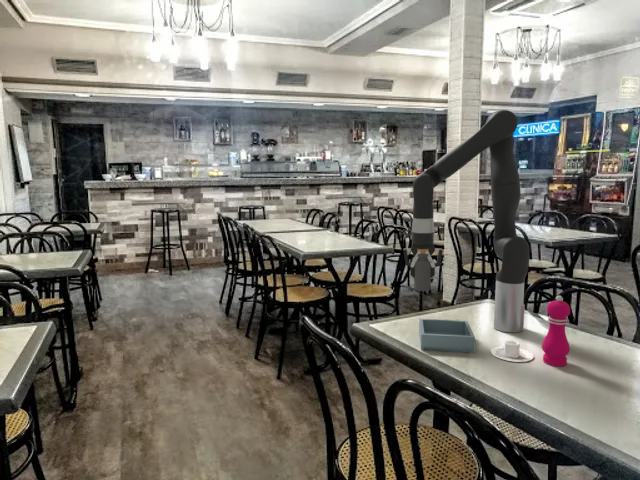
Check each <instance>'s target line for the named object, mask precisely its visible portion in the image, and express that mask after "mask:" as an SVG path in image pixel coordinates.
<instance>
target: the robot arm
mask: <svg viewBox="0 0 640 480" xmlns="http://www.w3.org/2000/svg"><path fill="white" fill-rule="evenodd" d="M518 124H519V123H518V118H517V115H516V114H515V113H514V112H512V111H511V110H507V109H500V110H497V111H495V112H493V113H492V114H491V115H489V116H488V117H487V119H486V121H485V124H484V125H482V127H481V128H480V129H479V130H478V131H476V132H475V133H474V134H473V135H471V136H470V137H468V138H467V139H466V140H465V141H463V142H461V143H460V144H458V145H457V146H455V147H453V148H452V149H450V150H449V151H448V152H447V153H445V154H444V155H442V156H441V157H440V158H439V159H438V160H436V161H435V162H434V163H433V165H431V166H430V167H428V168H426V169H425V170H424V171H422V172H421V173H420V174H419V175H417V176H415V178H414V180H413V182H412V193H413V194H412V195H413V206H412V207H413V208H412V225H411V246H410V247H408V248H403V258H404V262H405V263H404V264H405V266H408V267H409V268H410V271H409V272H410V274H409V275H410V277H412V278H413V279H414V265H415V262H416V261H417V259H418V256H417V255H418V254H420V253H421V252H420V250H418V251H417V249H418V248H421V249H429V251H428V250H426V254H428V257H427V258H428V260H429V261H430V264H431V279H434V277H435V275H436V268H437V267H440V266H441V263H442V258H443V248H437V247H435V245H434V244H435V243H434V242H435V239H434V238H435V223H434V222H435V221H434V190H435V188H436V187H437V186H439V185H440V184H441V183H442V182H443V181H444V180H446V179H449V178H450V177H451V176H452V175H455V174H456V173H457V172H459V170H461V169H462V168H463V167H465V166H466V165H467V164H468V163H470V162H471V161H472V160H473V159H475V158H476V157H477V156H478V155H480V154H481V153H483V152H484V151H485V150H487V149H488V148H489V157H490V159H489V160H490V165H489V167H490V189H491V201H492V213H493V223H494V224H493V225H494V227H493V228H494V229H493V231H494V233H493V248H494V249H493V250H494V253H495V255H496V256H497V257H498V258H499V259H501V260H502V262H501V269H500V270H498V271H497V272H496V275H495V293H494V295H495V296H494V312H493V313H494V314H493V329H495V330H497V331H499V332H504V333H519V332H522V333H523V332H524V328H525V327H524V325H525V323H524V322H525V310H526V307H525V306H526V304H525V303H524V297H525V296H524V295H525V280H526V279H525V278H526V276H527V274H528V271H529V263H530V262H529V261H530V245H529V243H528V241H527V240H526V239H525V238H523V237H521V236H518V235H517V229H516V217H517V211H518V208H519V205H520V202H521V196H522V195H521V192H522V191H521V182H520V181H521V180H520V175H519V169H518V167H517V162H516V159H515V156H514V150H513V149H514V148H513V135H514V134H515V132H516V130H517V127H518ZM410 252H411V253H412V254H413V257H412V259H411V262H410V261H409V255H410ZM434 252H435V253H434ZM433 254H436V257H437V259H436V262H435V261H434V260H433V258H432V256H433Z"/></svg>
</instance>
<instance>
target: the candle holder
mask: <svg viewBox="0 0 640 480" xmlns="http://www.w3.org/2000/svg"><path fill="white" fill-rule="evenodd" d="M520 343H521V342H519V341H517V340H509V339H508V340H506V341H504V346H495V347H493V348H491V350H490V353H491V355H493V356H494V357H496V358H498V359H500V360H504V361H506V362H507V361H508V362H515V363H517V362H519V363H525V362H529V361H532V360H533V359H534V354H533V353H532V352H531V351H530V350H529V351H528V350H527V349H524V348H521V347H520V346H521V344H520ZM503 350H504V356H506V357H507V358H506V357H502V356H500V355H499V354H498V352H499V351H503ZM520 353H522V354H524V355H525V356H526V358H524V359H523V358H522V359H517V358H519V357H520Z"/></svg>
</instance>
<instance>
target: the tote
mask: <svg viewBox="0 0 640 480" xmlns="http://www.w3.org/2000/svg"><path fill="white" fill-rule="evenodd" d="M418 324H419V325H418V334H419V335H418V336H419V344H420V350H421V351H435V352H436V351H437V352H439V351H440V352H453V353H472V354H474V353H475V344H476V343H475V341H476V338H475V337H476V336H475V335H474V332H473V330H472V327H471V326H470V323H469V321H468V320H457V319H456V320H455V319H437V318H436V319H435V318H434V319H433V318H432V319H430V318H419V322H418Z"/></svg>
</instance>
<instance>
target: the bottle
mask: <svg viewBox="0 0 640 480" xmlns="http://www.w3.org/2000/svg"><path fill="white" fill-rule="evenodd" d="M418 250H420V252H421V253H420V254H418V255H417V256H418V259H417V261H416V262H415V265H414V278H413V289H414V290H416V291H420V292H428V291H430V290H432V289H431V288H432V283H431V281H432V278H431V264H430V261H429V260H428V258H427V257H428V254H426V250H428V251H429V249H421V248H418V249H417V251H418Z"/></svg>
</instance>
